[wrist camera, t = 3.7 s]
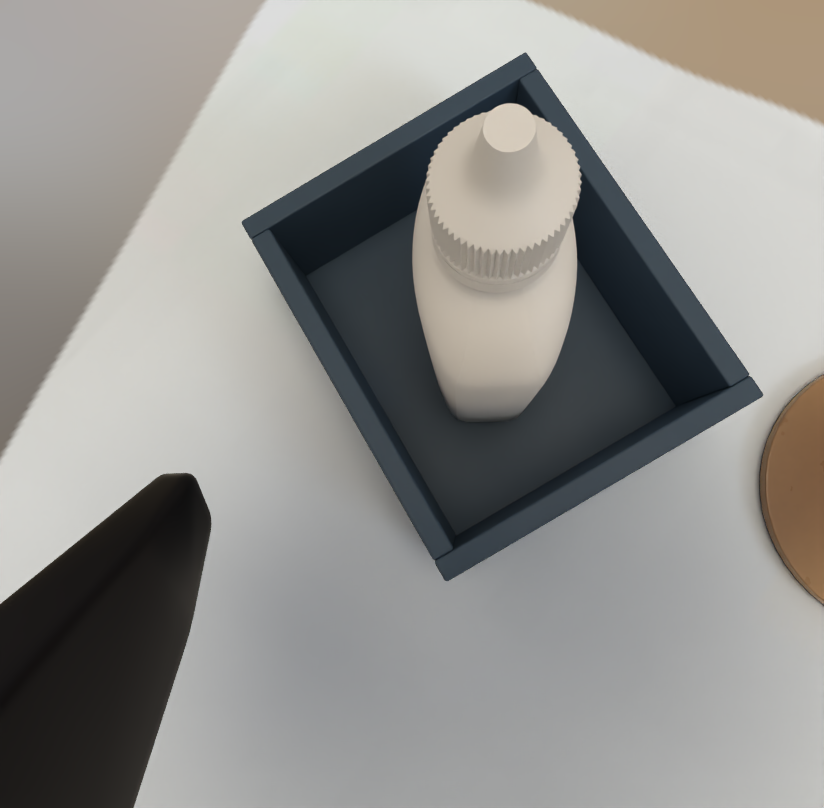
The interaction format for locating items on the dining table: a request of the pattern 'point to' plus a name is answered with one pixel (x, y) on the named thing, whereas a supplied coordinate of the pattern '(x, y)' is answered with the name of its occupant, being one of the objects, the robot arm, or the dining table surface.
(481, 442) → the tub
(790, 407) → the coaster
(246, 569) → the dining table surface
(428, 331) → the eye dropper bottle
